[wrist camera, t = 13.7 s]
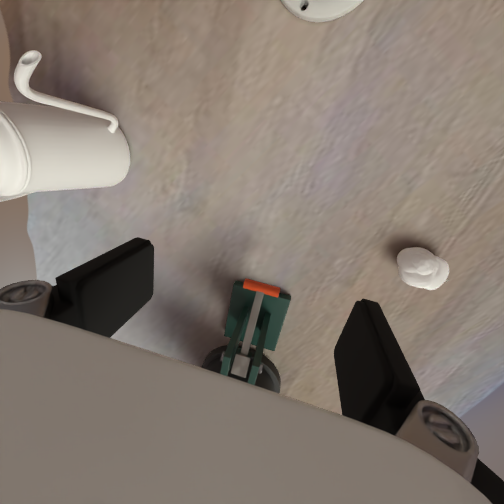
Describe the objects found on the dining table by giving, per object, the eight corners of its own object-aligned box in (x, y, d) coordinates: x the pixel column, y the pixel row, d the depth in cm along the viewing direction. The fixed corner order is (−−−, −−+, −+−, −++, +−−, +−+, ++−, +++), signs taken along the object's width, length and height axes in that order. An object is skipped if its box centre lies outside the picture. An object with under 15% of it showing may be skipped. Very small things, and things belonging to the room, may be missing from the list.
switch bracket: (235, 280, 42) (208, 329, 30) (290, 295, 40) (285, 352, 29) (226, 331, 47) (200, 389, 35) (275, 346, 46) (264, 411, 34)
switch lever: (246, 277, 35) (244, 278, 33) (280, 287, 35) (280, 288, 32) (223, 362, 35) (220, 370, 33) (257, 373, 35) (256, 381, 32)
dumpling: (384, 272, 36) (390, 278, 32) (400, 240, 35) (408, 243, 31) (434, 290, 34) (446, 300, 30) (453, 258, 33) (468, 263, 29)
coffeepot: (182, 135, 34) (60, 118, 17) (82, 215, 43) (-63, 255, 26) (135, 58, 31) (-63, -53, 14) (39, 160, 40) (-153, 165, 23)
